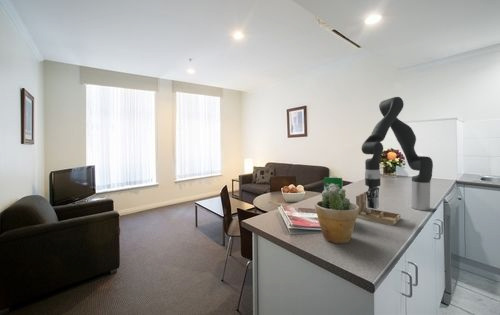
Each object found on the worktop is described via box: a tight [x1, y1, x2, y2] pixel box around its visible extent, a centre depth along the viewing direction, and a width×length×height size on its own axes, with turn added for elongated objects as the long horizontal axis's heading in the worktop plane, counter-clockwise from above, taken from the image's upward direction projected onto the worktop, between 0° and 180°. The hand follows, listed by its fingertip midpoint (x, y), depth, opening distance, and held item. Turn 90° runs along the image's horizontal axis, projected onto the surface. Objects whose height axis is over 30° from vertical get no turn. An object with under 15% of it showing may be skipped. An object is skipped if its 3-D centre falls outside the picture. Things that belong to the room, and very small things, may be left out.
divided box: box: [355, 191, 401, 227], centre depth 119 cm, size 14×18×13 cm
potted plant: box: [314, 184, 359, 244], centre depth 97 cm, size 18×19×25 cm
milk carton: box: [323, 175, 343, 191], centre depth 119 cm, size 9×9×25 cm
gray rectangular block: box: [366, 196, 380, 210], centre depth 121 cm, size 4×4×6 cm
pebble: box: [365, 207, 371, 214], centre depth 127 cm, size 3×3×3 cm
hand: (373, 206), depth 121 cm, fingers closed on gray rectangular block, 4 cm apart
